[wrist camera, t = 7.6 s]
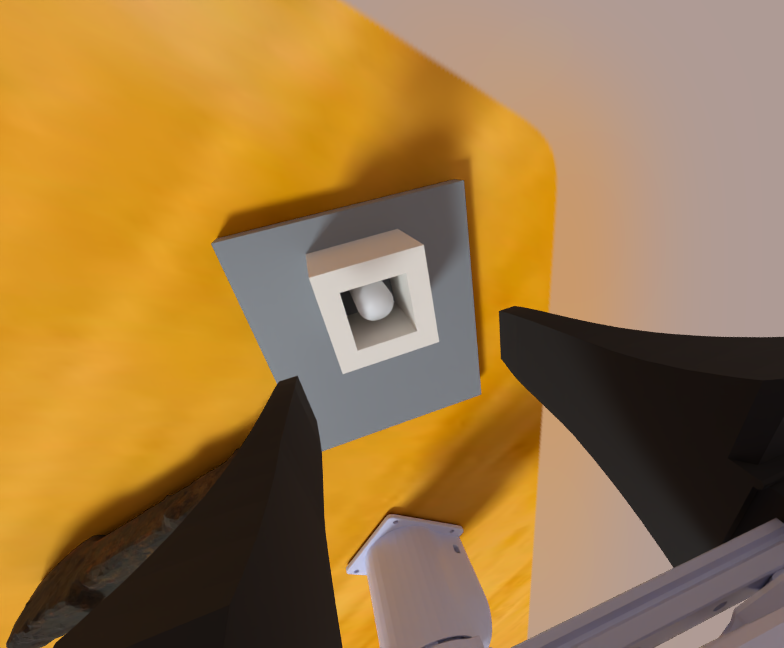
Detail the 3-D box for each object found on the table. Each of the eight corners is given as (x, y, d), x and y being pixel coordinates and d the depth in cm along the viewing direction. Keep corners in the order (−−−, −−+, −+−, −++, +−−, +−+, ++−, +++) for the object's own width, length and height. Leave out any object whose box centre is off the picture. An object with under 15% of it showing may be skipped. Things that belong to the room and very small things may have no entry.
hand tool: (259, 423, 22) (250, 480, 18) (292, 456, 24) (291, 515, 20) (4, 563, 21) (-63, 655, 17) (60, 585, 23) (11, 673, 19)
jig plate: (473, 384, 25) (503, 421, 22) (310, 442, 23) (313, 493, 20) (454, 179, 18) (494, 182, 14) (216, 238, 16) (194, 259, 13)
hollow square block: (413, 310, 20) (439, 342, 16) (333, 335, 19) (342, 374, 16) (397, 228, 17) (423, 244, 14) (305, 254, 17) (308, 277, 13)
